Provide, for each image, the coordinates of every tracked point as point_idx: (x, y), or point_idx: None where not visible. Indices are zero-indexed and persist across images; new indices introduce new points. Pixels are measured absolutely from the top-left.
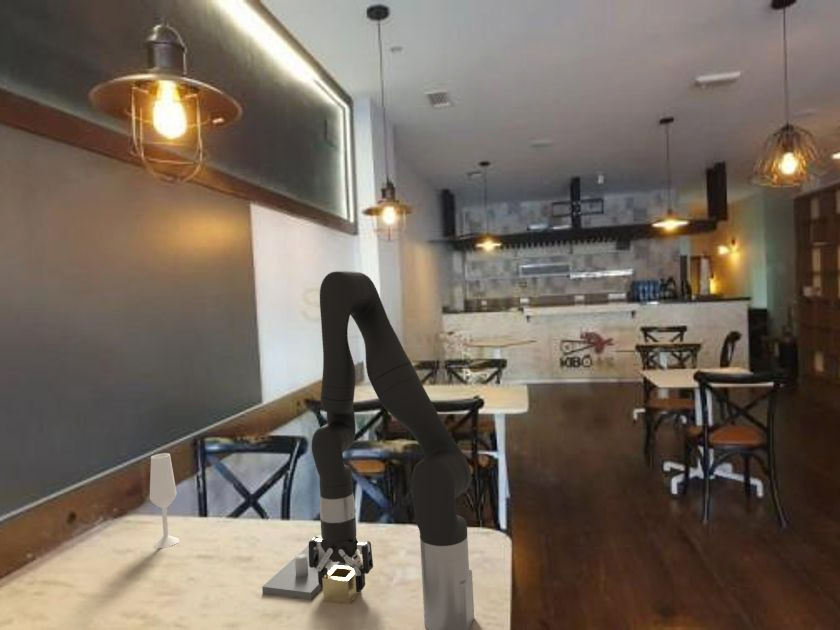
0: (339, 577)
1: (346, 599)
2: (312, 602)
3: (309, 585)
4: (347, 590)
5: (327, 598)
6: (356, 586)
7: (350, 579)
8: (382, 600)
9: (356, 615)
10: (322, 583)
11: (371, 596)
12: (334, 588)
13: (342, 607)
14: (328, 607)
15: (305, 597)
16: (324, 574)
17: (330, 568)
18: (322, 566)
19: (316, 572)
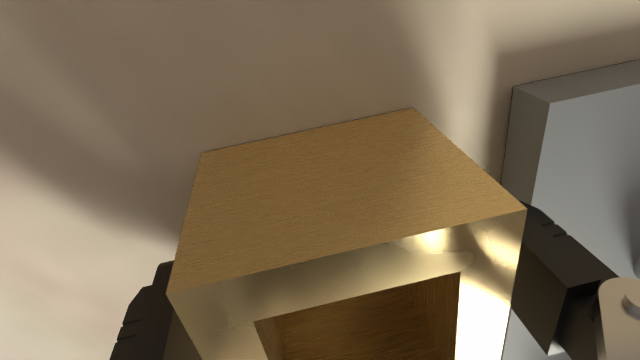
0: (328, 299)
1: (220, 164)
2: (487, 57)
3: (589, 177)
4: (196, 213)
5: (388, 123)
6: None
7: (192, 326)
8: (30, 281)
9: (5, 43)
10: None
11: (139, 281)
12: (342, 185)
13: (221, 97)
14: (328, 49)
15: (564, 79)
16: (529, 280)
17: (519, 350)
18: (623, 347)
19: None
